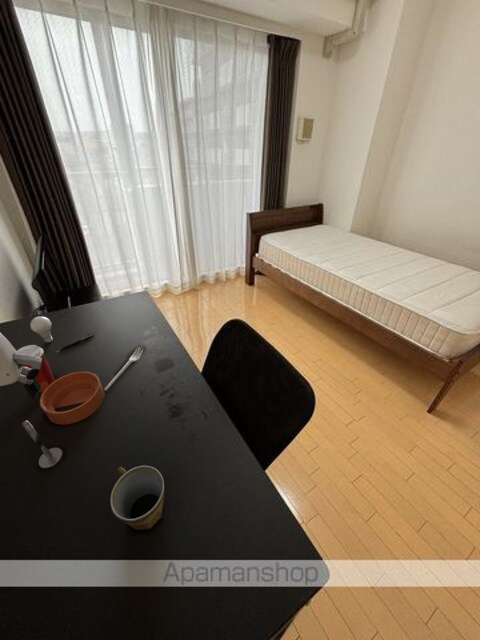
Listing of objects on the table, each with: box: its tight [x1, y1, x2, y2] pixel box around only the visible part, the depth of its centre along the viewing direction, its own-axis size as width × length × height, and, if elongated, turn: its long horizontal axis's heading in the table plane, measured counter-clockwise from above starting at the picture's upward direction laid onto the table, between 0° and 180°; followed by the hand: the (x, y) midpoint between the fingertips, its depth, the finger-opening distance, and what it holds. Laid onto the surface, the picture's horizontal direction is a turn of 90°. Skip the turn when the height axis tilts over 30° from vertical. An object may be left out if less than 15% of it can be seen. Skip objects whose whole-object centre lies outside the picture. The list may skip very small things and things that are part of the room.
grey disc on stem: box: [21, 420, 64, 470], centre depth 65 cm, size 5×5×16 cm
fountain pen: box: [55, 334, 95, 353], centre depth 106 cm, size 14×1×2 cm, turn 135°
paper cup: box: [16, 344, 56, 393], centre depth 86 cm, size 8×8×14 cm
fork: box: [103, 346, 144, 392], centre depth 95 cm, size 3×20×2 cm, turn 163°
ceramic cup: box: [109, 465, 165, 531], centre depth 58 cm, size 13×10×10 cm
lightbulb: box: [29, 315, 54, 343], centre depth 104 cm, size 6×6×11 cm
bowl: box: [39, 371, 106, 425], centre depth 82 cm, size 15×15×6 cm
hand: (9, 399), depth 56 cm, fingers open, 9 cm apart
